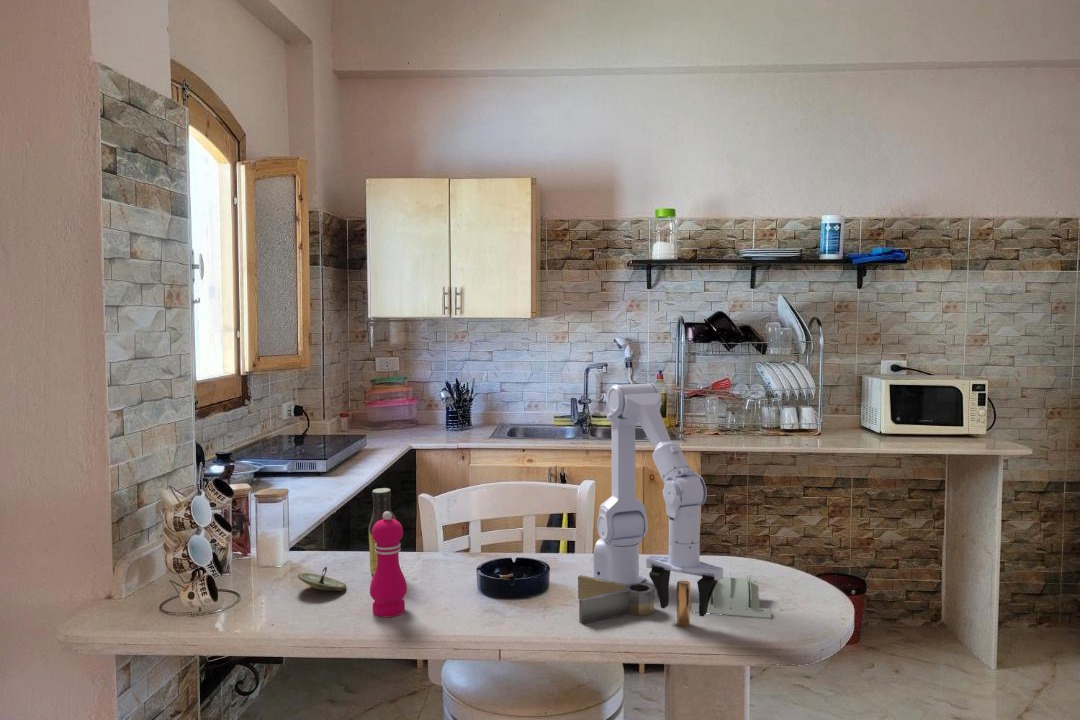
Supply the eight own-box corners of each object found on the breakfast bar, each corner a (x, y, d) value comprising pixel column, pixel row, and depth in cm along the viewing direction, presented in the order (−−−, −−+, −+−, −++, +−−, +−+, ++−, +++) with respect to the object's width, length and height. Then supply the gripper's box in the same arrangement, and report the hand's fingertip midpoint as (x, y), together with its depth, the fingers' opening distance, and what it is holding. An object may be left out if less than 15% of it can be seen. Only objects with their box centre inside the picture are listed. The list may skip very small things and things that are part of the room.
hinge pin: (674, 625, 151) (675, 583, 151) (679, 620, 153) (679, 579, 153) (687, 627, 150) (687, 585, 149) (691, 623, 152) (691, 581, 151)
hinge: (549, 616, 155) (549, 593, 155) (585, 593, 168) (585, 572, 168) (625, 634, 147) (625, 610, 147) (657, 608, 159) (657, 586, 159)
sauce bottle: (385, 571, 182) (384, 484, 181) (405, 576, 178) (403, 488, 177) (363, 579, 177) (361, 490, 175) (383, 585, 173) (381, 494, 172)
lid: (289, 590, 171) (288, 566, 170) (332, 579, 177) (331, 557, 177) (311, 603, 163) (310, 579, 162) (355, 592, 169) (355, 568, 169)
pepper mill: (413, 606, 161) (412, 508, 159) (395, 620, 154) (394, 517, 152) (382, 602, 163) (380, 505, 162) (363, 615, 156) (361, 514, 155)
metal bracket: (693, 565, 169) (767, 570, 165) (693, 588, 171) (767, 594, 167) (691, 609, 155) (771, 615, 152) (691, 633, 157) (770, 640, 154)
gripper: (639, 539, 151) (639, 609, 152) (714, 551, 143) (713, 625, 144) (654, 530, 157) (654, 598, 158) (727, 541, 149) (726, 612, 150)
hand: (683, 610), depth 151 cm, fingers open, 7 cm apart
